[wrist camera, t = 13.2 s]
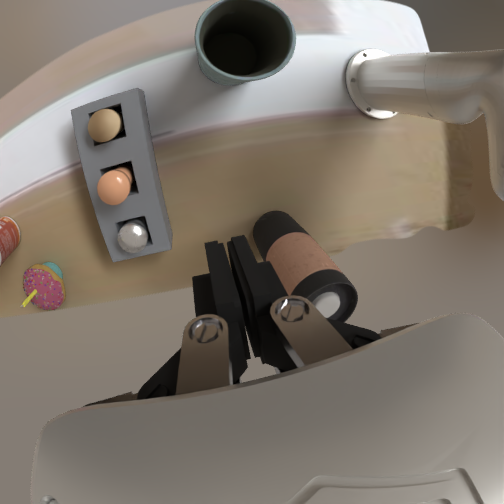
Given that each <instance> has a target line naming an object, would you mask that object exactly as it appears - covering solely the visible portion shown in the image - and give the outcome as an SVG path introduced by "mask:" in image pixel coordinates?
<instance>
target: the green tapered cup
mask: <svg viewBox="0 0 504 504" xmlns="http://www.w3.org/2000/svg"><path fill="white" fill-rule="evenodd" d="M195 44H196V49H197V52H198V61H199V65H200V68H201V70H202V72H203V73H204V74H205V75H206V76H207V77H208V78H209V79H210V80H212V81H213V82H216V83H218V84H222V85H238V84H242V83H245V82H250V81H255V80H261V79H264V78H267V77H270V76H272V75H274V74H276V73H277V72H279V71H280V70H281V69H283V68H284V67H285V66H286V65H287V63H288V62H289V60H290V59H291V58H292V55H293V53H294V50H295V44H296V33H295V29H294V26H293V24H292V22H291V20H290V18H289V17H288V16H287V15H286V13H285V12H284V11H283V10H282V9H281V8H279V7H278V6H276V5H275V4H273V3H271V2H270V1H268V0H220V1H218V2H216V3H214V4H213V5H211V6H210V7H209V8H208V9H207V10H206V11H205V12H204V13H203V14H202V15H201V16H200V18H199V20H198V23H197V26H196V30H195Z"/></svg>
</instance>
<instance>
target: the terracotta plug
mask: <svg viewBox="0 0 504 504" xmlns="http://www.w3.org/2000/svg"><path fill="white" fill-rule="evenodd" d="M134 178H135V174H134V171H133V169H132V168H131V167H129V166H127V165H120V166H118V167H117V168H116V169H114V170H110V171H108V172H107V173H105V174H104V175H103V176H102V177H101V178H100V180H99V182H98V185H97V192H98V195H99V197H100V199H101V200H102V201H103V202H105V203H106V204H109V205H118V204H120V203H122V202H123V201H124V200H125V199H126V198H127V196H128V194H129V193H130V190H131V184H132V183H133V181H134Z"/></svg>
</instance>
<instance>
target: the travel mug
mask: <svg viewBox="0 0 504 504" xmlns="http://www.w3.org/2000/svg"><path fill="white" fill-rule="evenodd" d="M253 236H254V240H255V242H256V245H257V247H258V249H259V252H260V254H261V256H262V258H263V261H264V262H265V261H270V262H271V264H272V266H273V268H274V270H275V271H276V273H277V275H278V277H279V279H280V281H281V282H282V284H283V286H284V288H285V290H286V292H287V294H288V295H289V296H291V295H296V296H301V297H304V298H306V299H308V300H309V301H310V302H311V303H312V304H313V305H314V306H315V307H316V308H317V309H318V310H319V311H320V313H321V314H322V315H323V316H324V317H325V318H329V319H332V320H336V321H339V322H343V323H344V322H345V321H346V320H347V319H348V318H349V317H350V316H351V315H352V313H353V311H354V310H355V307H356V305H357V301H358V295H357V291H356V289H355V287H354V286H353V285H352V283H351V282H350V281H349V280H348V279H347V277H345V275H344V274H343V273H342V272H341V270H340V269H339V268H338V267H337V266H336V264H335V263H334V262H333V261H332V260H331V259H330V257H329V256H328V255H327V254H326V253H325V252H324V250H323V249H322V248H321V247H320V246H319V245H318V244H317V242H316V241H315V240H314V239H313V238H312V237H311V236H310V235H309V234H308V233H307V232H306V231H305V230H304V229H303V228H302V227H301V226H300V225H299V224H298V223H297V222H296V221H295V220H294V219H293V218H292V217H290V216H289V215H288V214H286V213H284V212H281V211H272V212H268V213H266V214H264V215H263V216H262V217H261V218H259V220H258V221H257V222H256V224H255V227H254V231H253Z"/></svg>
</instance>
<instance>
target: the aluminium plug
mask: <svg viewBox="0 0 504 504" xmlns="http://www.w3.org/2000/svg"><path fill="white" fill-rule="evenodd" d="M147 228H148V225H147V221H146V218H145V216H141V217H136V218H132V219H128V221H127V223H125V224H124V225H123V226H122V227H121V229H120V231H119V233H118V243H119V245H120V247H121V248H122V249H123V250H125V251H127V252H130V253H137V252H140V251H141V250H143V249H144V247H145V246H146V243H147V239H148V233H147Z"/></svg>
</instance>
